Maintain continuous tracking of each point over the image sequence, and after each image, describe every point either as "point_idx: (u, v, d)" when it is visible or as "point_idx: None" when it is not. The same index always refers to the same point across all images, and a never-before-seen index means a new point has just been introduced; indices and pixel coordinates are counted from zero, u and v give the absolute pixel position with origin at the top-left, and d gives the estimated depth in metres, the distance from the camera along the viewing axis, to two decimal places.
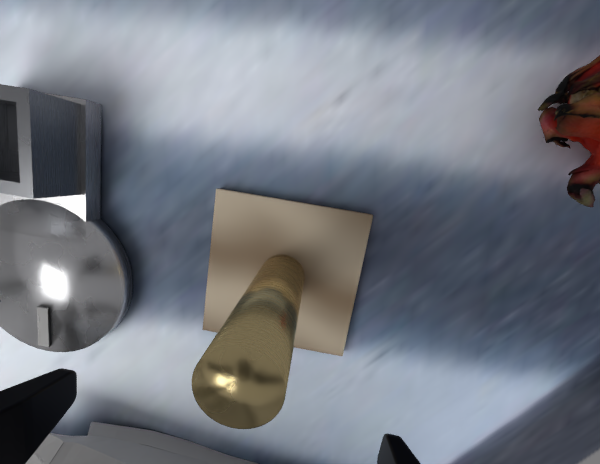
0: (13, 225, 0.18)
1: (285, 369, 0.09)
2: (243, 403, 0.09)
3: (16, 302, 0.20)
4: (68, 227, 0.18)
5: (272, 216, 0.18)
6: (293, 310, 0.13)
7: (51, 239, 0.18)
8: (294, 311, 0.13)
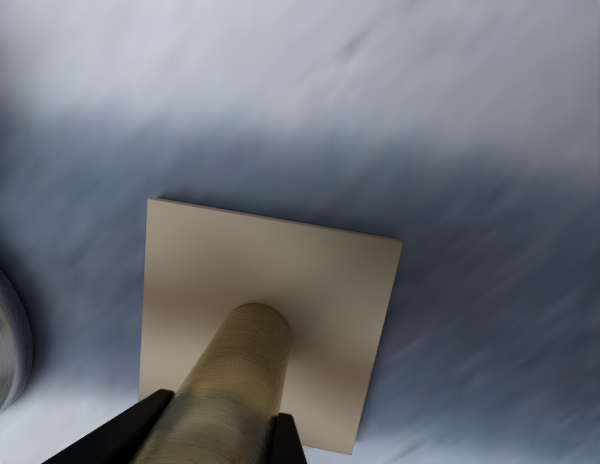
0: None
1: None
2: None
3: None
4: None
5: (239, 243, 0.11)
6: None
7: None
8: None
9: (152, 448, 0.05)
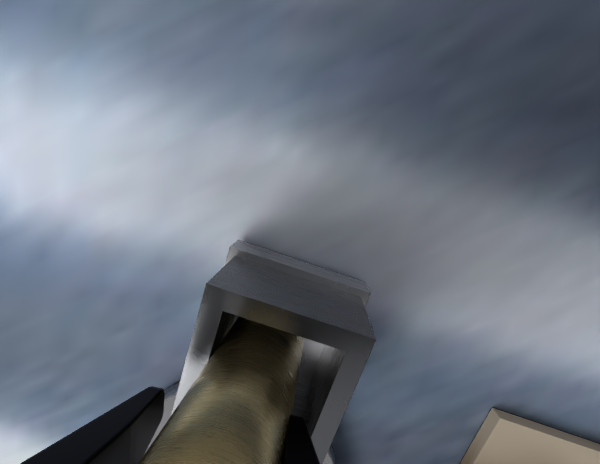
0: None
1: None
2: None
3: None
4: None
5: (564, 463, 0.13)
6: None
7: None
8: None
9: (173, 437, 0.06)
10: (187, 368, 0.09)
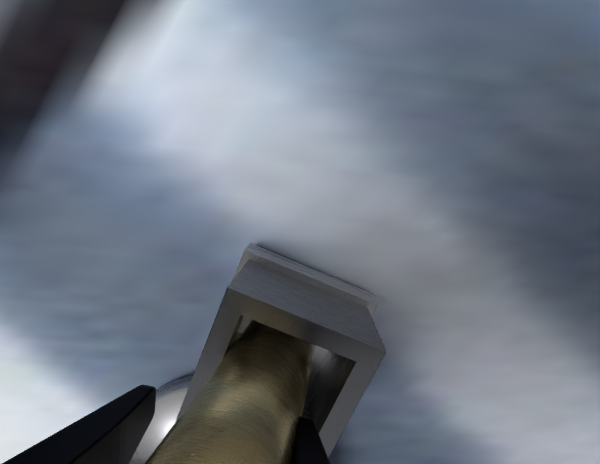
0: None
1: None
2: None
3: None
4: None
5: None
6: None
7: None
8: None
9: (185, 429, 0.06)
10: (199, 368, 0.09)
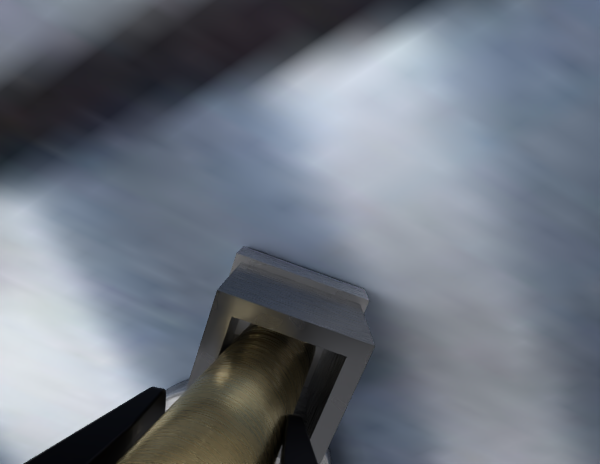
0: None
1: None
2: None
3: None
4: None
5: None
6: (254, 460, 0.06)
7: None
8: (257, 461, 0.06)
9: (163, 421, 0.06)
10: (195, 369, 0.10)
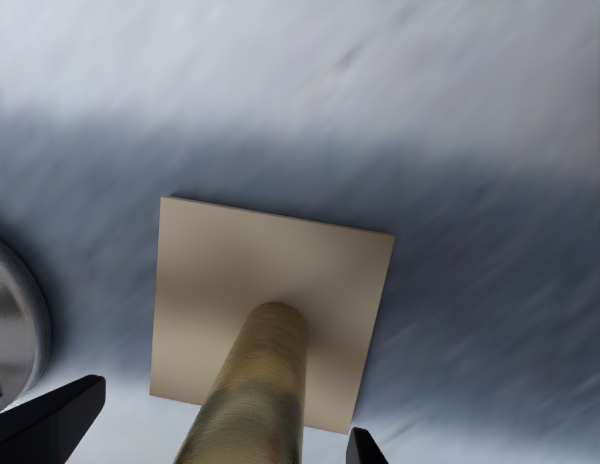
0: None
1: None
2: None
3: None
4: None
5: (245, 238, 0.12)
6: (294, 441, 0.07)
7: None
8: (296, 442, 0.07)
9: (207, 423, 0.06)
10: None
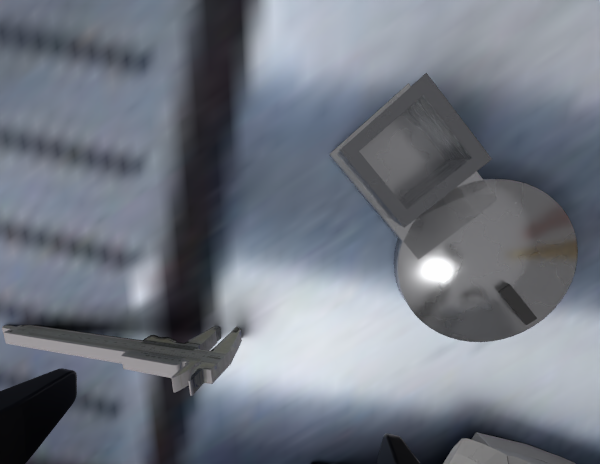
0: (426, 245, 0.18)
1: None
2: None
3: (476, 307, 0.19)
4: (472, 200, 0.17)
5: None
6: None
7: (465, 224, 0.18)
8: None
9: None
10: (378, 193, 0.15)
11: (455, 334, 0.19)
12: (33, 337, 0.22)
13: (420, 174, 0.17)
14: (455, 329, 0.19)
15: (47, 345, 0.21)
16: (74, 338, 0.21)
